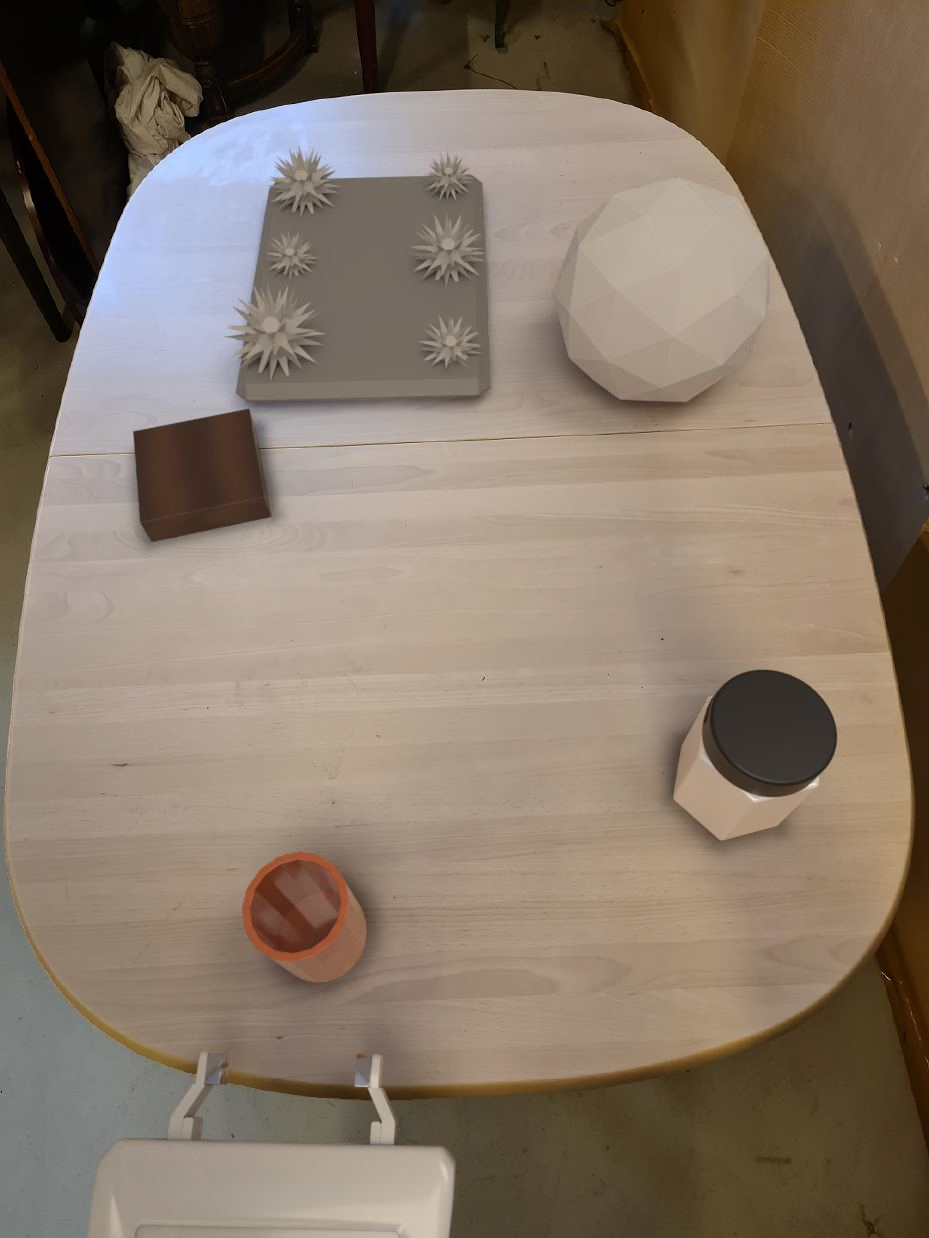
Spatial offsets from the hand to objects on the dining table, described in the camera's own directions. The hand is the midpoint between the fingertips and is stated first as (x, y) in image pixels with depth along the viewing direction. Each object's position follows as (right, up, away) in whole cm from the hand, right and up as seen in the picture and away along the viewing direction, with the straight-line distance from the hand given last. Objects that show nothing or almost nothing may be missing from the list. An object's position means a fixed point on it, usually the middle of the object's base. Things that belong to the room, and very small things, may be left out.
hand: (292, 1052), depth 52 cm
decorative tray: (0, +62, +42) cm, 75 cm away
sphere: (+29, +52, +35) cm, 69 cm away
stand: (-14, +39, +29) cm, 51 cm away
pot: (0, +4, +9) cm, 10 cm away
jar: (+31, +14, +14) cm, 36 cm away
